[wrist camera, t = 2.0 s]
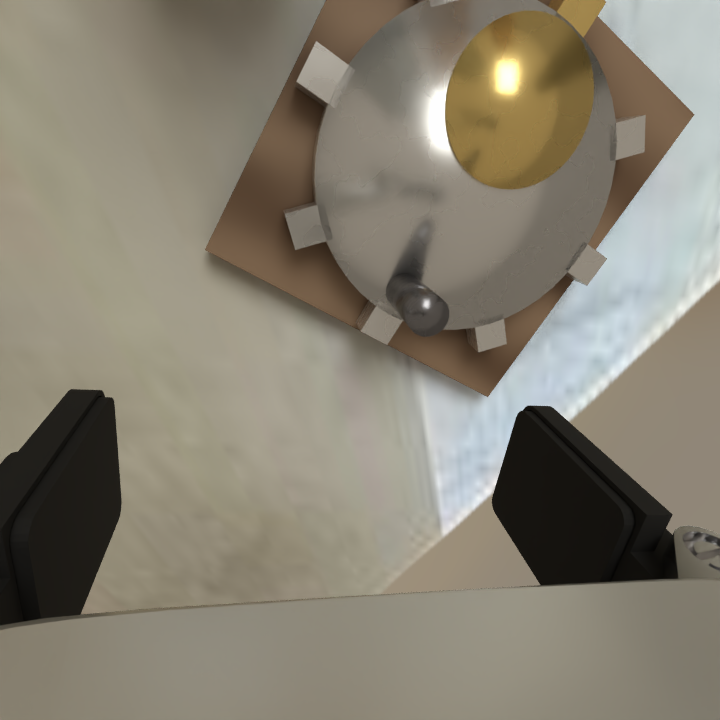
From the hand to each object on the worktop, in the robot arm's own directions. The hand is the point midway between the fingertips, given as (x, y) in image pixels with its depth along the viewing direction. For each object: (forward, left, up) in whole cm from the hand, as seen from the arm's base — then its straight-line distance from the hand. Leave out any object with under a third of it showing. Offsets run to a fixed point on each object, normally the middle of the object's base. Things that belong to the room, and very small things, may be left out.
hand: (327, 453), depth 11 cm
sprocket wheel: (+9, -5, -17) cm, 20 cm away
